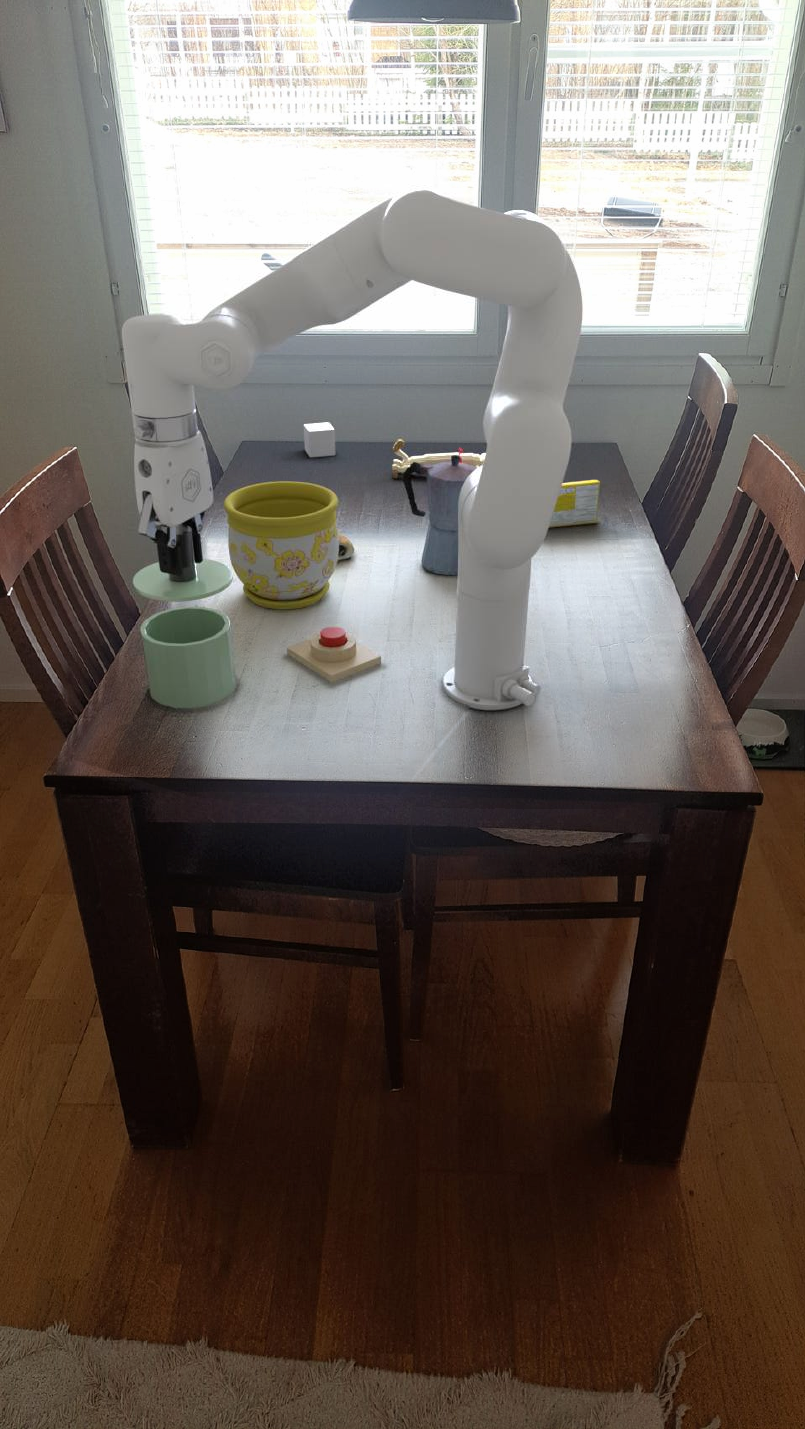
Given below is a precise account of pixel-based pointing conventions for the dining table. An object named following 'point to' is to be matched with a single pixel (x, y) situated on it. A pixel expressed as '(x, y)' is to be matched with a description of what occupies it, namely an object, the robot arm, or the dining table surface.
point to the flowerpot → (283, 542)
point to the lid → (183, 575)
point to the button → (333, 637)
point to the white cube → (319, 439)
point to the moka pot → (440, 511)
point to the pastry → (345, 548)
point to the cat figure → (432, 459)
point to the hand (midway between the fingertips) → (181, 565)
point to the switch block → (334, 657)
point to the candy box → (576, 504)
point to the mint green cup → (188, 656)
